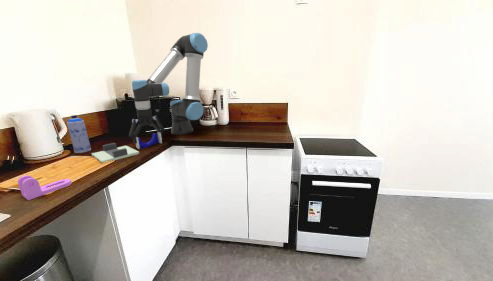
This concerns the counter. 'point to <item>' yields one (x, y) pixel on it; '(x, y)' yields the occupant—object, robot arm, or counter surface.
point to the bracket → (33, 189)
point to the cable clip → (153, 141)
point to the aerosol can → (78, 135)
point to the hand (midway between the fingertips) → (149, 145)
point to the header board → (107, 157)
